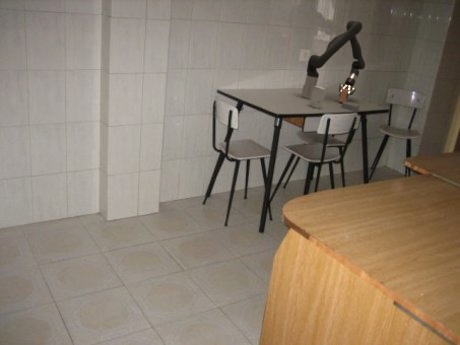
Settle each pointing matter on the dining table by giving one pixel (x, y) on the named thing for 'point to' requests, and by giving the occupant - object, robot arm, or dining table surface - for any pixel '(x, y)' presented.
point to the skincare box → (317, 97)
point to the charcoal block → (350, 106)
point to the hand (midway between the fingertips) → (343, 96)
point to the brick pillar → (343, 95)
